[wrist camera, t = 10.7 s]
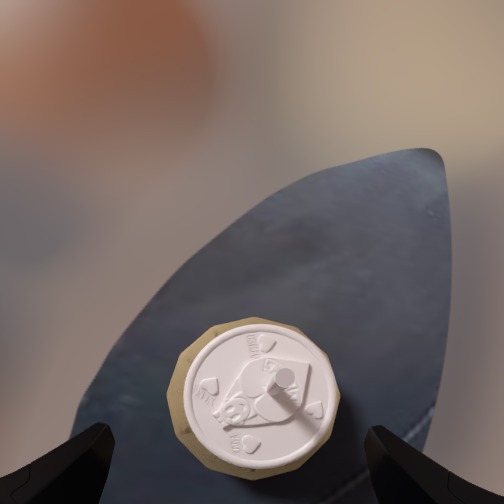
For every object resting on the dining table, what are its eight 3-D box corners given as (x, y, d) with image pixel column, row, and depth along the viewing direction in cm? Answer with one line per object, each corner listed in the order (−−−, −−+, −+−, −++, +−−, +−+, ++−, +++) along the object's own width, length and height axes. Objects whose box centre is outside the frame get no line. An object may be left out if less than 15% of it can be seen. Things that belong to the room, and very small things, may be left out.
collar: (302, 477, 16) (313, 490, 13) (166, 441, 17) (149, 446, 14) (334, 352, 21) (351, 339, 18) (207, 319, 22) (199, 301, 19)
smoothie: (317, 411, 19) (420, 403, 7) (242, 460, 17) (231, 537, 5) (267, 343, 21) (293, 242, 9) (193, 388, 20) (110, 347, 8)
